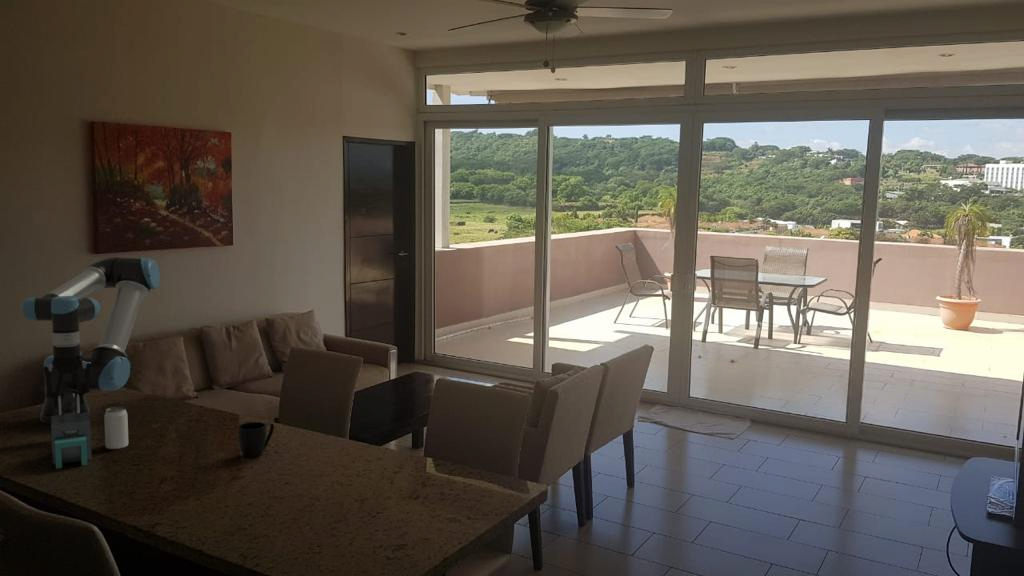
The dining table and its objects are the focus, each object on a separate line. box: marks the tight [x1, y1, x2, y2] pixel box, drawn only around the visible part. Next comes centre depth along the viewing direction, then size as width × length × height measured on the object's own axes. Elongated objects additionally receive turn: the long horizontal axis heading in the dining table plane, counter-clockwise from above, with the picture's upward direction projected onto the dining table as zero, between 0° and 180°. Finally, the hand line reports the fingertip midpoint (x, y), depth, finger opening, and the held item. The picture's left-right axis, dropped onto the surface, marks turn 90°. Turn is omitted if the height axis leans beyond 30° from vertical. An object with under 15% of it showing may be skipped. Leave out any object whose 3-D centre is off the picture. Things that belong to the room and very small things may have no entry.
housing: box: [50, 412, 93, 465], centre depth 235 cm, size 10×10×12 cm
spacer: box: [55, 436, 88, 470], centre depth 229 cm, size 4×8×8 cm, turn 120°
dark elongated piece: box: [61, 391, 78, 438], centre depth 243 cm, size 26×4×9 cm, turn 30°
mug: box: [237, 421, 275, 460], centre depth 242 cm, size 8×12×10 cm
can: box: [104, 406, 129, 450], centre depth 246 cm, size 6×6×12 cm
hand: (69, 415), depth 253 cm, fingers closed on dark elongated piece, 4 cm apart
